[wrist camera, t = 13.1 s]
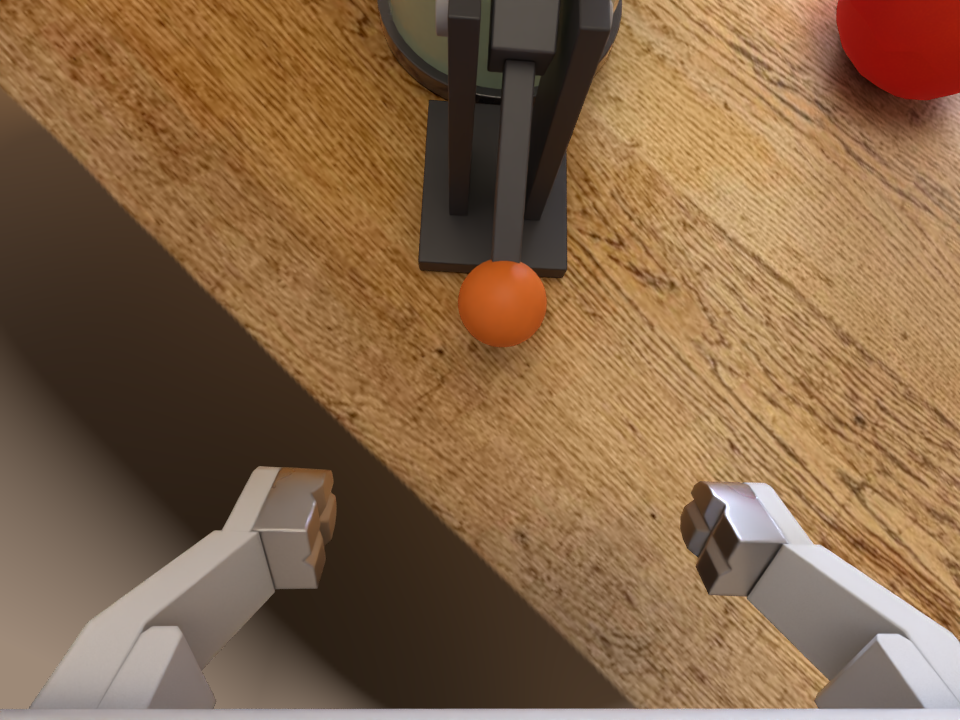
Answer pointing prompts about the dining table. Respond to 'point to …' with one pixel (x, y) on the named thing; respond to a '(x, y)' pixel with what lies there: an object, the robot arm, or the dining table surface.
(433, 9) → the green canister
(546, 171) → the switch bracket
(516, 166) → the switch
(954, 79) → the tomato
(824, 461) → the dining table surface
